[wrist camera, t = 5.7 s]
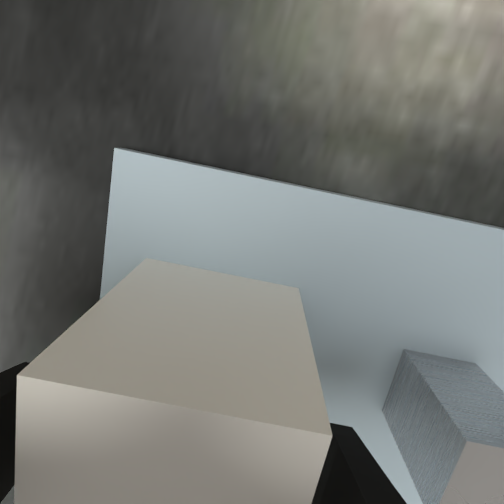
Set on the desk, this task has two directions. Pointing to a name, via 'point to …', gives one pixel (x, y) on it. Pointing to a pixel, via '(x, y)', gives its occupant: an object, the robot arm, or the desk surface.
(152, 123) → the desk surface
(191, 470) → the cream rectangular block
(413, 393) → the steel post
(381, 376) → the post board
